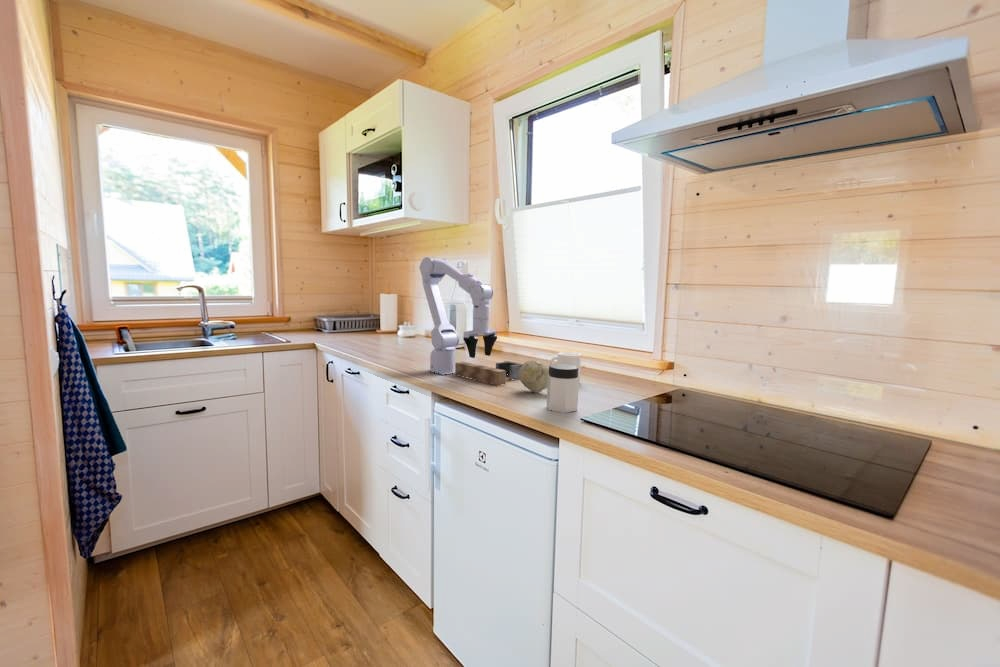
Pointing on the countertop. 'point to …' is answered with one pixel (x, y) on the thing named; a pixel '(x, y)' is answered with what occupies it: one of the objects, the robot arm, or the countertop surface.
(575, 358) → the mug
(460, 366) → the rail
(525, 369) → the decorative item
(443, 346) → the robot arm
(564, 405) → the jar
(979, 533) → the countertop surface
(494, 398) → the countertop surface
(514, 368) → the bracket
